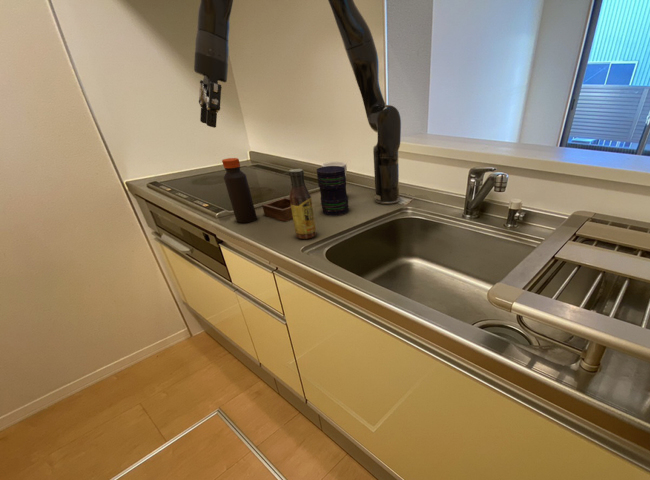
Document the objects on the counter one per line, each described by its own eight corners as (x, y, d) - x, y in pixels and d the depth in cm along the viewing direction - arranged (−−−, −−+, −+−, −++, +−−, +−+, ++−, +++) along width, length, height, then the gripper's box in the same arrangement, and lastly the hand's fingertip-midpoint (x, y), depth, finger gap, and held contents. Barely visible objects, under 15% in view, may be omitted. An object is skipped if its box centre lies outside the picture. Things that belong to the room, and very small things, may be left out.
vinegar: (260, 219, 119) (245, 159, 108) (241, 224, 115) (223, 162, 104) (251, 215, 123) (236, 156, 112) (233, 220, 119) (215, 159, 108)
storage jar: (348, 215, 122) (344, 172, 113) (320, 216, 121) (314, 173, 113) (349, 206, 130) (345, 165, 122) (323, 207, 129) (318, 166, 121)
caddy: (287, 207, 130) (285, 197, 128) (307, 212, 125) (305, 202, 123) (264, 215, 123) (262, 205, 121) (285, 221, 118) (282, 210, 115)
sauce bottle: (311, 240, 104) (300, 173, 93) (293, 239, 105) (279, 172, 94) (320, 232, 109) (310, 167, 98) (302, 231, 110) (290, 167, 99)
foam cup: (330, 193, 144) (326, 161, 136) (351, 194, 143) (348, 161, 135) (323, 200, 136) (318, 166, 129) (345, 201, 135) (342, 167, 128)
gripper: (234, 62, 85) (229, 132, 91) (221, 63, 94) (217, 125, 100) (200, 49, 80) (196, 123, 86) (190, 51, 89) (187, 118, 95)
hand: (207, 124), depth 93 cm, fingers open, 8 cm apart
